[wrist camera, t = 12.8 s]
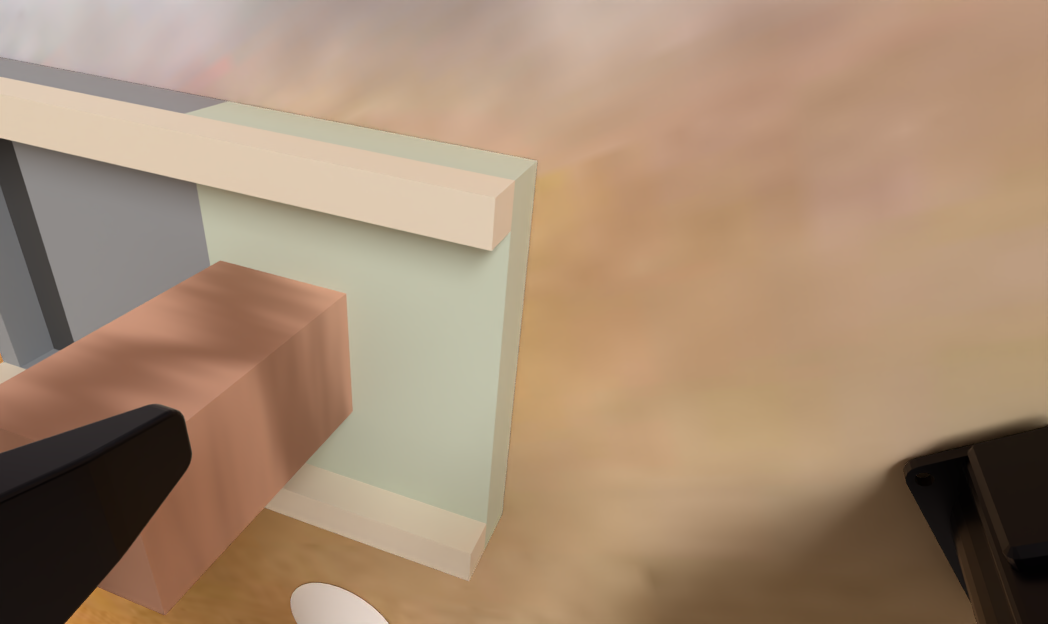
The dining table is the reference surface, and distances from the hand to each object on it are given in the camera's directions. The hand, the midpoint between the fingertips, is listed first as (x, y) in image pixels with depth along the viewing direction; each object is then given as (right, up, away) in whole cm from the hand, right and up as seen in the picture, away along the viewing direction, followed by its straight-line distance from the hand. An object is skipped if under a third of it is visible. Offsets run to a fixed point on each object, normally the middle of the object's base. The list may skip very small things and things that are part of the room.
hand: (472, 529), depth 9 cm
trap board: (-11, +4, +18) cm, 21 cm away
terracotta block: (-8, +2, +15) cm, 17 cm away
